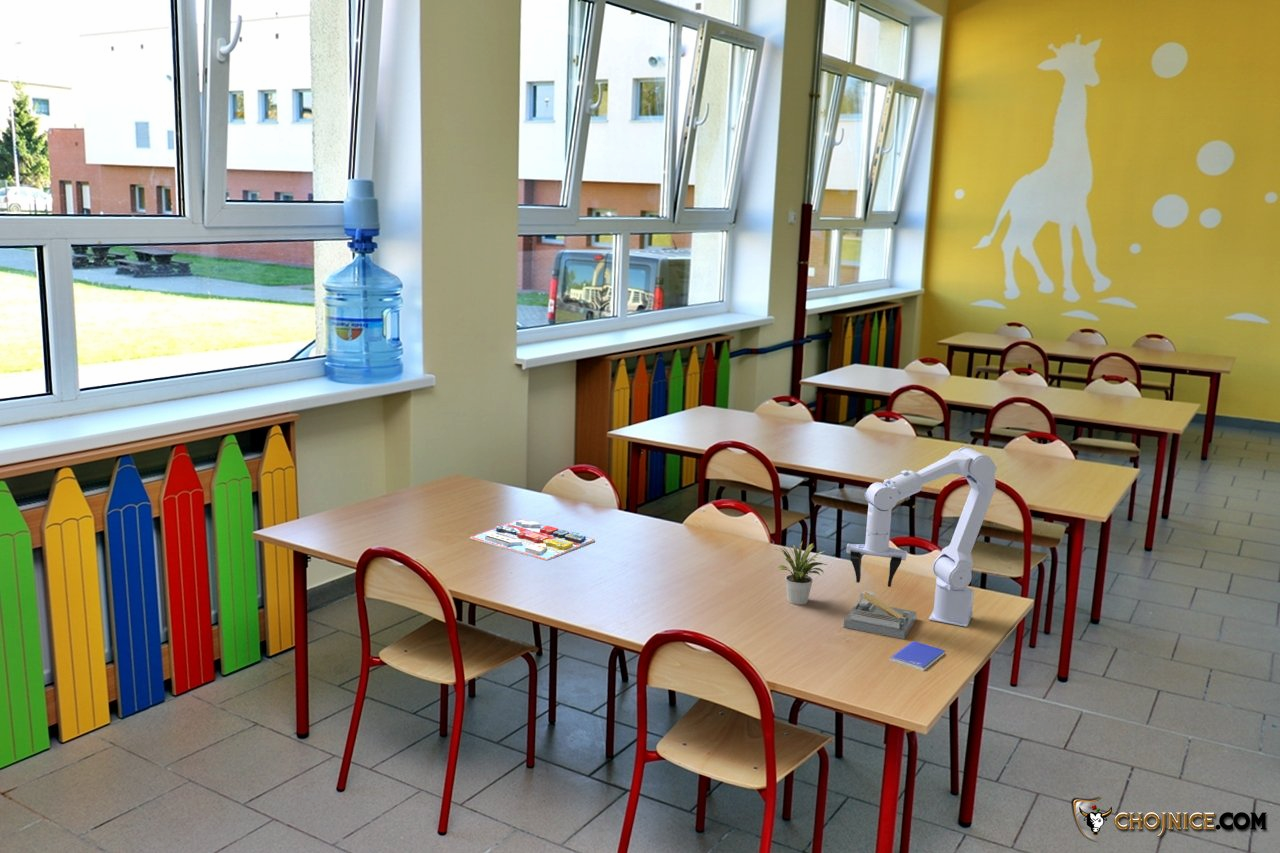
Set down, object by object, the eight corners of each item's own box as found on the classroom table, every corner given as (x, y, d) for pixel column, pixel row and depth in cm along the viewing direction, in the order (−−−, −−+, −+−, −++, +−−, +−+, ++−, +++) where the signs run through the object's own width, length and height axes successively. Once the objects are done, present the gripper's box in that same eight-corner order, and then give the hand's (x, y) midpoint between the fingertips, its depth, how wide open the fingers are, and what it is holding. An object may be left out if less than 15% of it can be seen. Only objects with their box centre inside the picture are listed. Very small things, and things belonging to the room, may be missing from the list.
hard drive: (923, 666, 249) (945, 649, 258) (890, 656, 253) (912, 640, 263) (923, 673, 249) (944, 656, 259) (889, 662, 254) (911, 646, 263)
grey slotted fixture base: (916, 618, 279) (917, 604, 278) (903, 639, 266) (905, 624, 265) (858, 607, 285) (859, 593, 284) (843, 627, 272) (844, 612, 271)
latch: (873, 603, 283) (874, 592, 282) (868, 610, 278) (869, 598, 277) (862, 601, 284) (863, 590, 283) (857, 608, 279) (858, 596, 278)
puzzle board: (469, 541, 330) (469, 532, 330) (519, 523, 349) (519, 515, 348) (546, 563, 313) (547, 554, 313) (595, 543, 332) (595, 535, 331)
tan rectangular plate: (902, 618, 273) (904, 616, 273) (900, 622, 271) (901, 620, 270) (864, 593, 276) (865, 591, 276) (862, 597, 274) (863, 595, 274)
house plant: (778, 613, 279) (782, 553, 276) (758, 594, 292) (762, 536, 289) (830, 609, 283) (834, 549, 280) (808, 590, 296) (812, 533, 293)
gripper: (909, 530, 272) (904, 582, 275) (850, 523, 276) (846, 574, 279) (907, 538, 266) (902, 591, 269) (846, 531, 270) (842, 583, 273)
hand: (873, 583), depth 274 cm, fingers open, 7 cm apart
